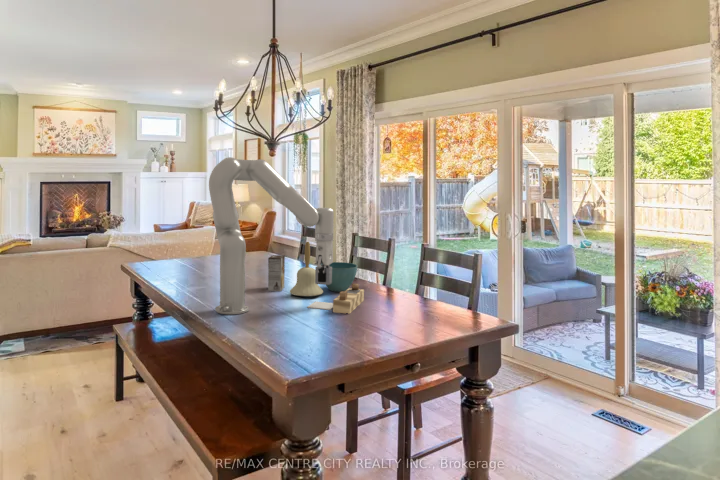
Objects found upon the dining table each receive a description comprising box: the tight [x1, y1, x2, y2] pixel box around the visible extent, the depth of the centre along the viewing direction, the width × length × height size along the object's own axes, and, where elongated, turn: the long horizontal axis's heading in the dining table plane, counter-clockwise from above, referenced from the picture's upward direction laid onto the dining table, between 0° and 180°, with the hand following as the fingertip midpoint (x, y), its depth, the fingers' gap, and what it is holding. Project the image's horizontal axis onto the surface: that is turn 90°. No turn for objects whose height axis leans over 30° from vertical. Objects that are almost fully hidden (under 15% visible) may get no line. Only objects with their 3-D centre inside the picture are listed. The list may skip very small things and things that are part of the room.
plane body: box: [332, 283, 365, 315], centre depth 206 cm, size 24×7×8 cm, turn 166°
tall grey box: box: [314, 266, 332, 286], centre depth 204 cm, size 4×6×7 cm, turn 76°
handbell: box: [289, 241, 324, 297], centre depth 222 cm, size 15×15×25 cm
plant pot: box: [321, 261, 358, 293], centre depth 237 cm, size 18×18×12 cm
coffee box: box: [267, 254, 286, 292], centre depth 234 cm, size 9×6×16 cm
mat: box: [306, 301, 333, 311], centre depth 205 cm, size 10×10×1 cm
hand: (323, 280), depth 204 cm, fingers closed on tall grey box, 4 cm apart
